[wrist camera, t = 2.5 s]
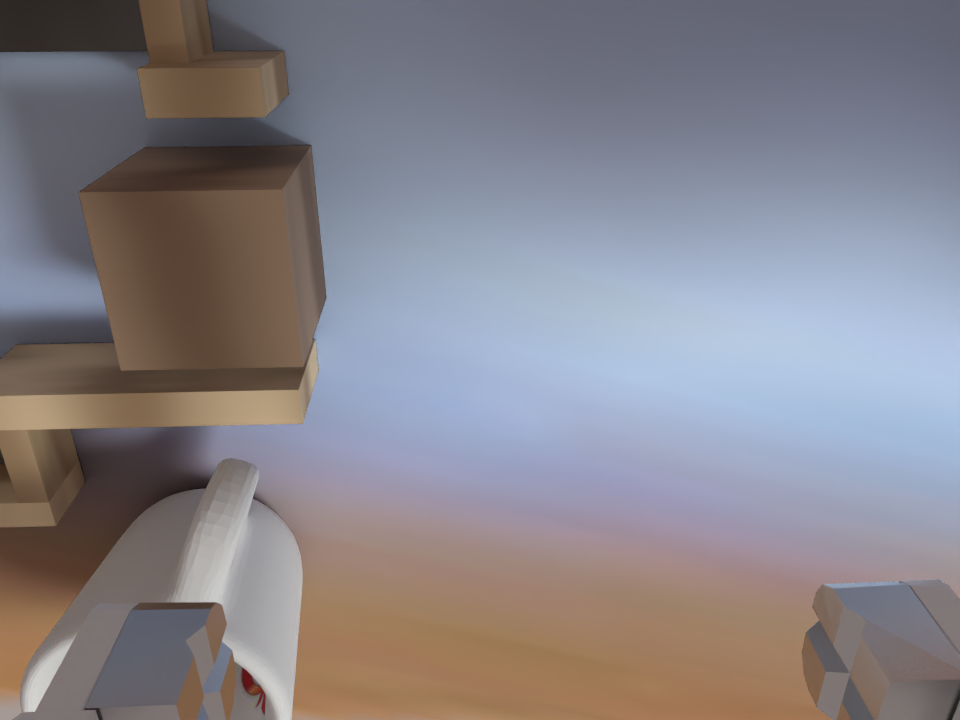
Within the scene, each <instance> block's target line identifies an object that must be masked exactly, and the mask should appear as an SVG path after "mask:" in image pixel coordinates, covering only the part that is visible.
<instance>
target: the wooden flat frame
mask: <svg viewBox="0 0 960 720" xmlns="http://www.w3.org/2000/svg"><path fill="white" fill-rule="evenodd" d="M60 51H148V55H149V60H150V64H147V65H145V66H142V67H140V68H137V72H138V77H139V83H140V88H141V93H142V99H143V104H144V109H145V114H146V118H244V117H266V116H267V115H268V114H269V113H270V112H271V111H272V110H273V109H274V108H275V107H276V106H277V105H278V104H280V103H281V102H282V101H283V100H284V99H285V98H286V97H287V96H288V95H289V90H288V81H287V72H286V62H285V53H284V51H214V49H213V42H212V35H211V28H210V21H209V14H208V8H207V1H206V0H0V52H60ZM318 371H319V367H318V358H317V349H316V340H315V339H312V342H311V345H310V348H309V351H308V354H307V357H306V360H305V363H304V366H303V367H269V368H222V369H175V370H128V371H121V369H120V365H119V361H118V356H117V352H116V348H115V344H114V343H76V344H24V345H15V346H14V347H13V348H12V349H11V350H10V351H9V352H8V353H7V354H6V355H5V356H3V357H2V358H1V359H0V527H38V526H57V524H58V523H59V521H60V520H61V518H62V517H63V515H64V514H65V512H66V511H67V509H68V508H69V506H70V505H71V503H72V502H73V500H74V499H75V497H76V496H77V494H78V493H79V491H80V490H81V488H82V487H83V485H84V484H85V480H84V476H83V472H82V469H81V465H80V462H79V458H78V455H77V451H76V448H75V444H74V440H73V437H72V433H71V430H70V429H86V428H130V427H175V426H219V425H264V424H303V422H304V418H305V415H306V411H307V408H308V405H309V401H310V398H311V395H312V391H313V388H314V385H315V381H316V378H317V374H318Z"/></svg>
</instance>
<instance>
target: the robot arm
mask: <svg viewBox="0 0 960 720" xmlns="http://www.w3.org/2000/svg"><path fill="white" fill-rule="evenodd" d="M812 607H813V609H814V611H815V613H816V615H817V617H818V619H819V621H818V622H817V623H816V624H815V625H814V626H812V627H811V628H810V629H809V630H808V631H807V632H806V634H805V639H804V644H803V649H802V659H803V671H804V676H805V680H806V683H807V686H808V690H809V692H810V694H811V696H812V699H813V701H814V703H815V705H816V707H817V708H818V709H819V710H821V711H822V712H823V713H825V714H826V715H827V716H829V717H830V718H831V719H833V720H960V599H959V598H958V596H957V595H956V594H955V593H954V591H953V590H952V589H951V588H950V586H949V585H947V584H946V583H944V582H942V581H941V580H939V579H936V580H912V581H899V582H894V581H893V582H867V583H841V584H822V586H821V587H820V588H819V589H818V591H817V592H816V595H815V598H814V602H813V606H812ZM226 626H227V622H226V618H225V614H224V610H223V606H222V605H221V604H219V603H217V602H165V603H138V604H98V605H97V606H96V607H94V608H93V609H92V610H91V611H90V612H89V613H88V615H87V616H86V618H85V620H84V622H83V624H82V626H81V628H80V629H79V631H78V633H77V635H76V637H75V639H74V640H73V642H72V644H71V646H70V648H69V650H68V651H67V653H66V655H65V657H64V659H63V661H62V663H61V664H60V666H59V668H58V670H57V672H56V674H55V675H54V677H53V679H52V681H51V683H50V685H49V686H48V688H47V690H46V692H45V694H44V696H43V698H42V699H41V701H40V703H39V705H38V707H37V709H36V710H35V712H22V713H21V714H20V715H18V716H17V717H15V718H14V719H13V720H230V716H231V712H232V708H233V702H234V693H235V684H236V677H235V662H234V657H233V651H232V649H230V648H229V647H228V646H227V645H226V644H224V643H223V642H222V639H223V636H224V633H225V629H226Z"/></svg>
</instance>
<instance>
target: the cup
mask: <svg viewBox="0 0 960 720" xmlns="http://www.w3.org/2000/svg"><path fill="white" fill-rule="evenodd" d="M258 479H259V470H258V468H257V467H256V466H254V465H253V464H251V463H248V462H245V461H243V460H238V459H226V460H223V461H222V462H221V463H219V465H218V466H217V468H216V470H215V471H214V473H213V475H212V477H211V479H210V481H209V483H208V485H207V487H206V489H195V490H188V491H183V492H180V493H177V494H173V495H171V496H168V497H166V498H164V499H162V500H160V501H159V502H157V503H155V504H154V505H152V506H151V507H149V508H148V509H147V510H145V511H144V512H143V513H142V514H141V515H140V516H139V517H138V518H137V519H136V520H135V521H134V522H133V523H132V524H131V525H130V526H129V527H128V529H127V530H126V531H125V532H124V534H123V535H122V536H121V537H120V539H119V540H118V541H117V543H116V544H115V545H114V547H113V548H112V549H111V551H110V552H109V554H108V555H107V556H106V558H105V559H104V560H103V562H102V563H101V564H100V566H99V567H98V568H97V570H96V571H95V572H94V574H93V575H92V576H91V578H90V579H89V581H88V582H87V583H86V585H85V586H84V587H83V589H82V590H81V591H80V593H79V594H78V595H77V597H76V598H75V599H74V601H73V602H72V603H71V605H70V606H69V608H68V609H67V610H66V612H65V613H64V614H63V616H62V617H61V618H60V620H59V621H58V622H57V624H56V625H55V626H54V628H53V629H52V630H51V632H50V633H49V635H48V636H47V637H46V639H45V640H44V641H43V643H42V644H41V645H40V647H39V648H38V649H37V651H36V652H35V654H34V655H33V657H32V659H31V660H30V662H29V664H28V666H27V668H26V671H25V673H24V676H23V680H22V684H21V692H20V704H21V710H22V712H35V710H36V709H37V707H38V705H39V703H40V701H41V699H42V698H43V696H44V694H45V692H46V690H47V688H48V686H49V685H50V683H51V681H52V679H53V677H54V675H55V674H56V672H57V670H58V668H59V666H60V664H61V663H62V661H63V659H64V657H65V655H66V653H67V651H68V650H69V648H70V646H71V644H72V642H73V640H74V639H75V637H76V635H77V633H78V631H79V629H80V628H81V626H82V624H83V622H84V620H85V618H86V616H87V615H88V613H89V612H90V611H91V610H92V609H93V608H94V607H96V606H97V605H98V604H138V603H165V602H217V603H219V604H221V605H222V606H223V610H224V614H225V618H226V622H227V626H226V629H225V633H224V636H223V639H222V642H223V643H224V644H226V645H227V646H228V647H229V648H230V649H232V651H233V657H234V662H235V677H236V684H235V693H234V702H233V708H232V712H231V716H230V720H291V718H292V706H293V694H294V682H295V670H296V657H297V645H298V633H299V620H300V608H301V596H302V561H301V556H300V551H299V548H298V545H297V542H296V540H295V538H294V536H293V534H292V532H291V531H290V529H289V528H288V526H287V525H286V524H285V523H284V521H283V520H282V519H281V518H280V517H279V516H278V515H277V514H276V513H275V512H274V511H272V510H271V509H270V508H268V507H267V506H265V505H264V504H262V503H260V502H259V501H257V500H255V499H253V495H254V492H255V489H256V486H257V482H258Z"/></svg>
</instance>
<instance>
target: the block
mask: <svg viewBox="0 0 960 720" xmlns="http://www.w3.org/2000/svg"><path fill="white" fill-rule="evenodd" d="M78 193H79V197H80V202H81V206H82V210H83V214H84V218H85V223H86V227H87V231H88V235H89V239H90V243H91V248H92V252H93V256H94V260H95V264H96V269H97V273H98V277H99V281H100V285H101V289H102V294H103V298H104V302H105V306H106V310H107V315H108V319H109V323H110V327H111V331H112V336H113V340H114V344H115V348H116V352H117V356H118V361H119V365H120V369H121V371H128V370H175V369H222V368H269V367H303V366H304V363H305V360H306V357H307V354H308V351H309V348H310V345H311V342H312V339H313V336H314V333H315V330H316V327H317V324H318V321H319V318H320V315H321V312H322V309H323V306H324V303H325V300H326V288H325V278H324V268H323V258H322V248H321V238H320V228H319V218H318V207H317V197H316V187H315V177H314V167H313V157H312V147H311V145H294V146H210V147H144V148H143V149H141V150H140V151H138V152H137V153H135V154H134V155H132V156H131V157H129V158H128V159H127V160H125V161H124V162H122V163H121V164H119V165H118V166H116V167H115V168H113V169H112V170H110V171H109V172H107V173H106V174H105V175H103V176H102V177H100V178H99V179H97V180H96V181H94V182H93V183H91V184H90V185H88V186H87V187H86V188H84V189H83V190H81V191H80V192H78Z"/></svg>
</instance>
